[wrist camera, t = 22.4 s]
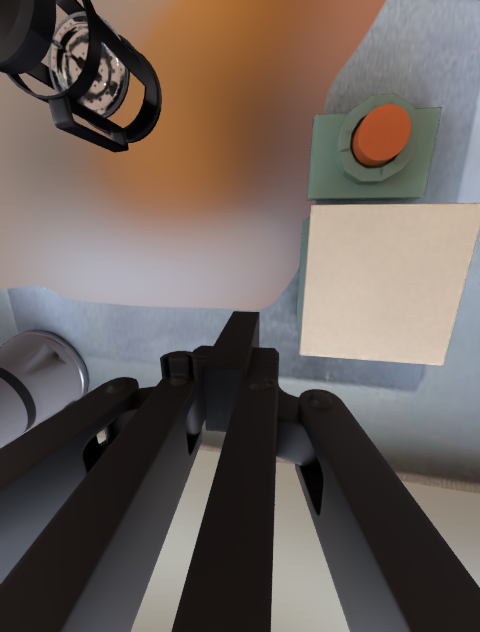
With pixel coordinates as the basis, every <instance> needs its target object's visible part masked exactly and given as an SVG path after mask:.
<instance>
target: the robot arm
mask: <svg viewBox="0 0 480 632" xmlns="http://www.w3.org/2000/svg"><path fill="white" fill-rule="evenodd" d="M160 362H161V370H162V380H161V381H160V382H159V383H158V385H157V386H155V387H148V388H140V389H139V384H138V382H137V380H136V379H133V378H129V377H122V378H121V377H120V378H116V379H113V380H110V381H108V382H106V383H104V384H102V385H101V386H99V387H98V388H96V389H94V390H93V391H91V392H90V393H88V394H87V395H86V393H87V390H88V374H87V370H86V367H85V365H84V363H83V361H82V359H81V357H80V356H79V354H78V353H77V352H76V351H75V350H74V348H73V347H72V346H71V345H69V344H68V343H67V342H66V341H64V340H63V339H62V338H60V337H58V336H56V335H54V334H52V333H49V332H46V331H41V330H31V331H27V332H24V333H21V334H19V335H16V336H14V337H13V338H11V339H10V340H8V341H7V342H6V343H4V344H3V345H2V346H1V347H0V632H131V629H132V626H133V623H134V621H135V618H136V615H137V613H138V610H139V607H140V605H141V602H142V599H143V597H144V594H145V591H146V589H147V586H148V583H149V581H150V578H151V575H152V573H153V570H154V567H155V564H156V562H157V559H158V557H159V554H160V551H161V549H162V546H163V543H164V541H165V538H166V535H167V532H168V530H169V527H170V524H171V522H172V519H173V516H174V514H175V511H176V508H177V506H178V503H179V500H180V498H181V495H182V492H183V490H184V487H185V483H186V482H187V479H188V476H189V473H190V471H191V468H192V466H193V463H194V460H195V458H196V455H197V452H198V449H199V447H200V444H201V441H202V426H203V423H204V421H205V422H206V430H210V431H220V432H226V436H225V440H224V443H223V447H222V450H221V454H220V458H219V461H218V465H217V469H216V473H215V476H214V480H213V483H212V487H211V490H210V494H209V498H208V501H207V505H206V509H205V512H204V516H203V519H202V523H201V527H200V530H199V534H198V537H197V541H196V545H195V548H194V552H193V555H192V559H191V563H190V566H189V570H188V574H187V577H186V581H185V584H184V588H183V592H182V595H181V599H180V603H179V606H178V610H177V613H176V617H175V621H174V624H173V628H172V632H271V603H272V570H273V537H274V506H275V503H274V502H275V474H276V456H277V457H280V458H282V459H285V460H288V461H290V462H293V463H295V468H296V472H297V475H298V478H299V481H300V484H301V487H302V490H303V492H304V496H305V499H306V502H307V505H308V508H309V510H310V514H311V517H312V519H313V523H314V526H315V529H316V532H317V535H318V538H319V541H320V544H321V547H322V549H323V552H324V555H325V558H326V561H327V564H328V567H329V570H330V573H331V576H332V579H333V582H334V585H335V588H336V591H337V594H338V597H339V600H340V603H341V606H342V609H343V612H344V615H345V618H346V621H347V624H348V627H349V630H350V632H480V588H479V587H478V585H477V583H476V582H475V581H474V579H473V578H472V577H471V576H470V574H469V573H468V571H467V570H466V569H465V567H464V566H463V565H462V563H461V562H460V561H459V559H458V558H457V556H456V555H455V554H454V552H453V551H452V550H451V548H450V547H449V546H448V544H447V543H446V541H445V540H444V539H443V537H442V536H441V535H440V533H439V532H438V531H437V529H436V528H435V527H434V525H433V524H432V523H431V521H430V520H429V518H428V517H427V516H426V514H425V513H424V512H423V510H422V509H421V508H420V506H419V505H418V503H417V502H416V501H415V499H414V498H413V497H412V495H411V494H410V493H409V492H408V490H407V488H406V487H405V486H404V485H403V483H402V482H401V480H400V479H399V478H398V476H397V475H396V474H395V472H394V471H393V469H392V468H391V467H390V465H389V464H388V463H387V461H386V460H385V459H384V457H383V456H382V455H381V453H380V452H379V450H378V449H377V448H376V446H375V445H374V444H373V442H372V441H371V440H370V438H369V437H368V436H367V434H366V433H365V431H364V430H363V429H362V427H361V426H360V425H359V423H358V422H357V421H356V419H355V418H354V417H353V415H352V414H351V412H350V411H349V410H348V408H347V407H346V406H345V404H344V403H343V402H342V400H341V399H340V398H339V397H338V396H336V395H335V394H333V393H331V392H328V391H325V390H320V389H319V390H318V389H312V390H307V391H305V392H303V393H301V395H300V397H299V398H298V397H295V396H292V395H289V394H287V393H286V392H284V391H283V390H282V389H281V388H280V387H279V384H278V372H279V353H278V352H277V350H276V349H275V348H259V312H239V311H234V312H233V313H232V315H231V317H230V318H229V320H228V322H227V324H226V325H225V327H224V329H223V331H222V332H221V334H220V336H219V337H218V339H217V341H216V343H215V344H214V346H200V347H198V348H197V349H195V350H194V351H193V352H188V351H175V352H170V353H168V354H165V355H163V356H162V357H161V358H160ZM40 422H42V423H40ZM38 423H40V424H39V425H37V426H35V427H34V428H32V429H31V430H29V431H28V432H26V433H24V432H25V431H27V430H28V429H29V428H30V427H32V426H33V425H36V424H38ZM103 429H105V434H106V440H105V441H104V442H102V443H100V444H99V443H98V440H97V434H98V433H99V432H100V431H102V430H103ZM23 433H24V434H23ZM22 434H23V435H22ZM20 435H21V436H20ZM19 436H20V437H19Z"/></svg>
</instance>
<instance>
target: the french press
mask: <svg viewBox="0 0 480 632" xmlns="http://www.w3.org/2000/svg"><path fill="white" fill-rule="evenodd" d="M82 2H83V5H84V8H83V7H82V6H81V4H80V3H79V2H78V1H77V0H0V72H3V73H6V74H7V75H8V76H9V78H10V79H11V80H12V81H13V82H14V83H15V84H16V85H17V86H18V87H19V88H21V89H22V90H24V91H25V92H26V93H28V94H30V95H32V96H34V97H36V98H38V99H40V100H42V101H45V102H47V103H49V105H50V109H51V113H52V117H53V121H54V124H55V126H56V127H57V128H59V129H61V130H63V131H66V132H68V133H70V134H73V135H75V136H77V137H80V138H82V139H84V140H87V141H89V142H91V143H94V144H96V145H98V146H101V147H103V148H105V149H108V150H110V151H112V152H122V151H127V150H128V149H129V148H128V143H134V142H137V141H140V140H141V139H143V138H145V137H146V136H147V135H148V134H150V133H151V131H152V130H153V128H154V127H155V125H156V123H157V121H158V119H159V115H160V112H161V104H162V95H161V88H160V83H159V80H158V77H157V75H156V72H155V70H154V69H153V67H152V65H151V64H150V63H149V61H148V60H147V59H146V58H145V57H144V56H143V55H142V54H141V53H139V52H138V51H137V50H136V49H135V48H134V47H133V46H132V45H131V44H130V43H129V42H128V41H127V40H126V39H125V38H123V37H122V36H121V35H118V34H117V33H116V31H115V30H114V28H112V26H111V25H110V24H109V23H108V22H107V21H106V20H104V19H103V18H101V17H100V16H98V15H97V14H96V12H95V9H94V7H93V5H92V3H91V0H82ZM56 4H57V5H58V6H59V7H60V8H61V9H62V10H64V11H65V12H66V13H67V14H68V15H69V16H68V17H66V18H65V19H64V20H63V21H62V22H61V23H60V24H59V25H58V27H57V28H56V30H55V24H56ZM48 50H49V56H48V58H49V67H47V66H46V65H44V64H43V63H41V61H42V59H43V58H44V57H45V56H46V54H47V52H48ZM130 72H131V73H132V74H133V75H134V76H135V77H136V78H137V79H138V80H139V81H140V82H142V84H143V85H144V86H145V94H144V99H143V104H142V107H141V109H140V112H139V114H138V115H137V116H136V118H135V119H134V121H132V123H130V125H128V126H126V127H125V128H121V127H120V126H118V125H117V124H115V123H113V122H112V121H110V120H108V119H107V118H108V117H110V116H111V115H113V114H114V113H115V112H116V111H117V110H118V109H119V108H120V106H121V104H122V103H123V101H124V99H125V96H126V94H127V91H128V86H129V79H130ZM23 73H27V74H29V75H30V76H32V77H34V78H35V79H37V80H39V81H40V82H42V83H44V84H46V85H48V86H49V87H51V88H52V89H54V90H56V92H57V95H53V96H42V95H36V94H35V93H33V92H32V91H31V90H30V89H29V88H28V86H27V85H25V83H24V82H23V81H22V79H21V78H20V76H19V75H18V74H23ZM72 113H74V114H75V115H78V116H79V117H81V118H83V119H85V120H86V121H87V122H88V123H89V124H91V125H92V126H94V127H95V128H97V129H98V130H100V131H102V132H104V133H105V134H106V135H107V136H109V137H110V138H112V140H111V139H109V138H107V137H105V136H103V135H100V134H99V133H97V132H95V131H93V130H91V129H89V128H87V127H84V126H83V125H80V124H79V123H77V122H75V121H74V119H73V116H72Z"/></svg>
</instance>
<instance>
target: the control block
mask: <svg viewBox="0 0 480 632" xmlns="http://www.w3.org/2000/svg"><path fill="white" fill-rule="evenodd" d="M386 104H393V105H397V106H400V107H401V108H403V109H404V110H405V111H406V112H407V114H408V116H409V118H410V122H411V132H410V136H409V139H408V141H407V143H406V145H405V147H404V148H403V149H402V150H401V151H400V152H399V153H398V154H397V155H395V156H394V157H392V158H391V159H389V160H388V161H386V162H385V163H383V164H380V165H377V166H368V165H365V164H363V163H361V162H360V161H359V160H358V159H357V158H356V156H355V154H354V151H353V138H354V135H355V133H356V131H357V129H358V127H359V126H360V124H361V123H362V122H363V120H364V119H365V117H366V116H367V115H368V114H369V113H370V112H371V111H372V110H374V109H375V108H377V107H379V106H382V105H386ZM441 110H442V107H438V108H421V109H414V106H413V105H412V104H411V103H409V102H408V101H406V100H404V99H403V98H401V97H400V96H398V95H397V94H381V95H373V96H370V97H369V98H368V99H366V100H365V101H363V102H362V103H360V104H359V105H357V106H356V107H354V108H353V109H352V110H351V111H350V113H340V114H323V115H315V116H314V119H313V126H312V140H311V153H310V166H309V180H308V193H307V200H370V199H417V198H422V197H424V195H425V190H426V185H427V180H428V175H429V170H430V165H431V160H432V155H433V150H434V145H435V140H436V135H437V130H438V125H439V120H440V115H441Z"/></svg>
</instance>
